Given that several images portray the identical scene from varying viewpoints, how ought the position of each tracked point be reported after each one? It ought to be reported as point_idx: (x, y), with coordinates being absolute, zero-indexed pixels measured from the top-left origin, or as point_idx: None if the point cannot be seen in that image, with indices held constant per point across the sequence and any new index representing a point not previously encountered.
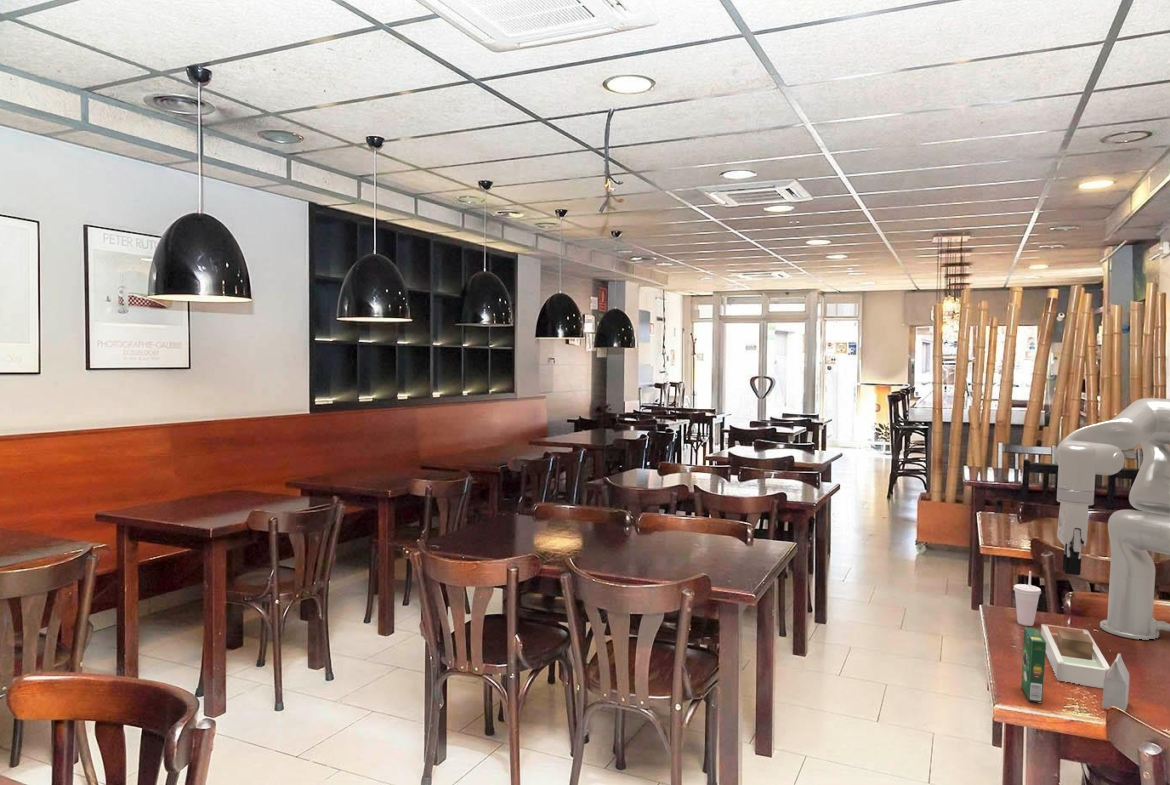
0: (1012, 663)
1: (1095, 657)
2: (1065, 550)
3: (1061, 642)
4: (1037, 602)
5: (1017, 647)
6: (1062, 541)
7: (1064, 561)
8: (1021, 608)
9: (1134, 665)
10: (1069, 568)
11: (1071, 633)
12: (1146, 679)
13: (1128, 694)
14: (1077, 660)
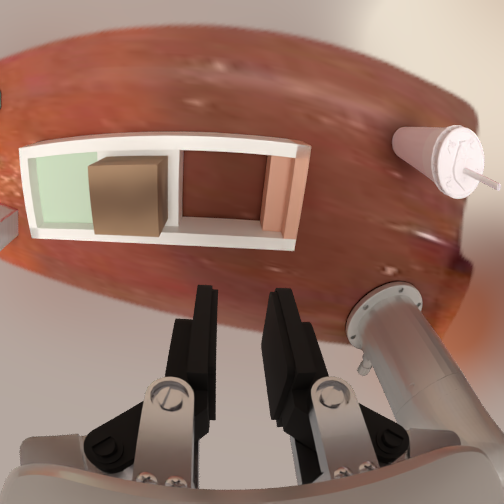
0: (94, 60)
1: None
2: (312, 410)
3: (97, 162)
4: (427, 176)
5: (212, 72)
6: (30, 491)
7: (277, 334)
8: (416, 133)
9: None
10: (175, 326)
11: (142, 196)
12: (130, 288)
13: (10, 241)
14: None
